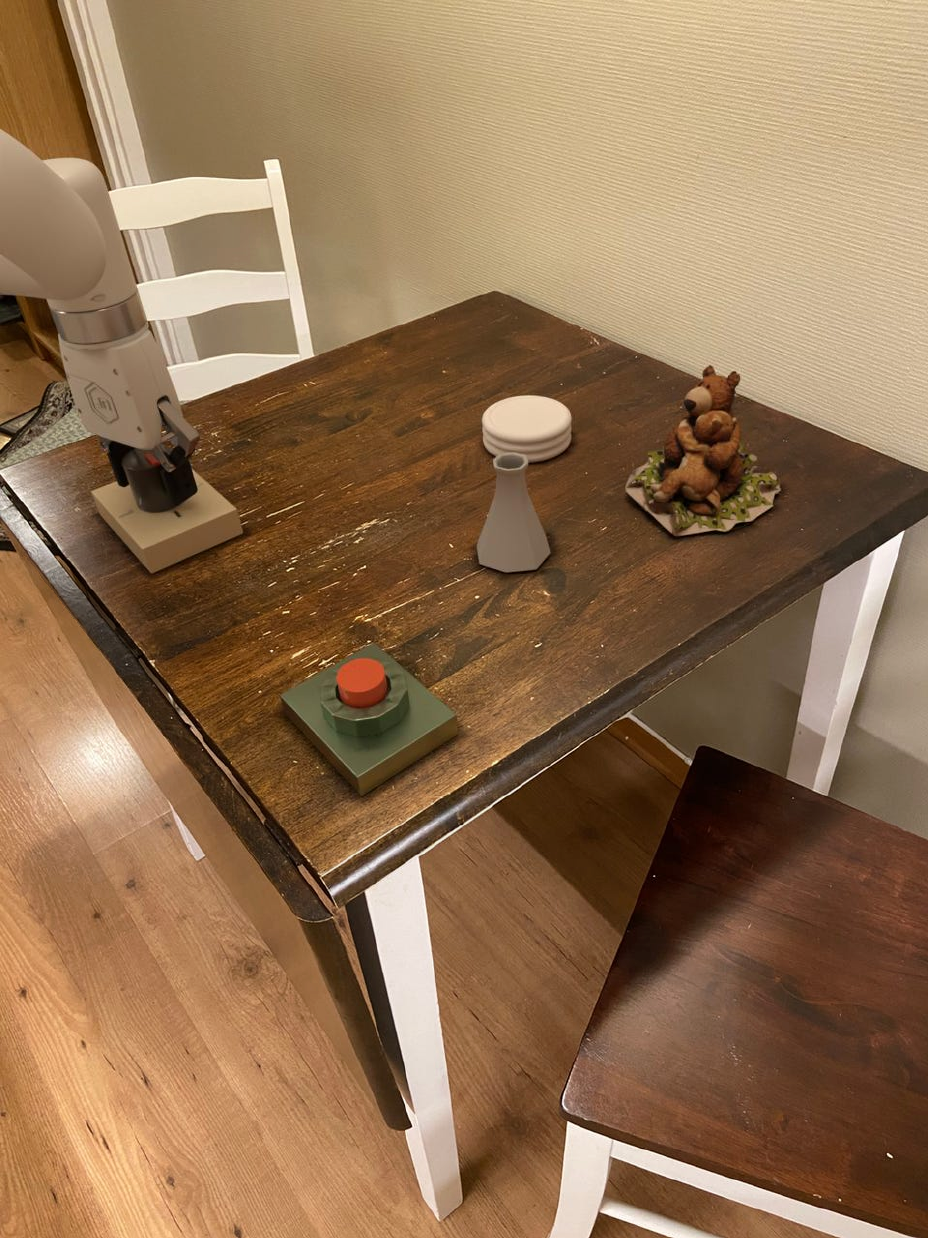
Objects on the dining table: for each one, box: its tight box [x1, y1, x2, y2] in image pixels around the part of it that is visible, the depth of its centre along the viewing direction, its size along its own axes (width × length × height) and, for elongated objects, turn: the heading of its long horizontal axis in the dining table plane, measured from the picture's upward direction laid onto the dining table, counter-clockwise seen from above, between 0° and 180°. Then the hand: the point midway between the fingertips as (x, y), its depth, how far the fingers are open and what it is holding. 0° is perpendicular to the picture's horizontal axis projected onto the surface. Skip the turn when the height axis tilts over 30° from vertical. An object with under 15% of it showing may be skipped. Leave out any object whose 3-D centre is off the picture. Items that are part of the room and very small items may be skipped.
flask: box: [476, 452, 551, 573], centre depth 81 cm, size 7×7×10 cm
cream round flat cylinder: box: [481, 395, 573, 464], centre depth 99 cm, size 10×10×4 cm
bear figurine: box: [625, 364, 782, 537], centre depth 86 cm, size 14×15×12 cm
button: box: [337, 658, 388, 708], centre depth 66 cm, size 4×4×2 cm
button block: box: [279, 642, 460, 797], centre depth 67 cm, size 11×9×4 cm
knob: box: [122, 443, 176, 513], centre depth 88 cm, size 5×5×5 cm
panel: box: [90, 468, 244, 574], centre depth 91 cm, size 14×10×3 cm
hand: (158, 488), depth 89 cm, fingers open, 6 cm apart
